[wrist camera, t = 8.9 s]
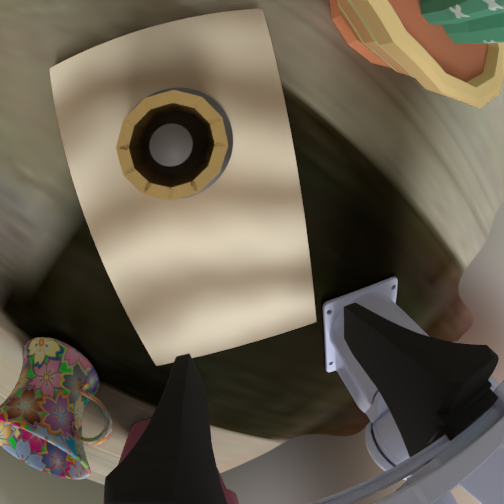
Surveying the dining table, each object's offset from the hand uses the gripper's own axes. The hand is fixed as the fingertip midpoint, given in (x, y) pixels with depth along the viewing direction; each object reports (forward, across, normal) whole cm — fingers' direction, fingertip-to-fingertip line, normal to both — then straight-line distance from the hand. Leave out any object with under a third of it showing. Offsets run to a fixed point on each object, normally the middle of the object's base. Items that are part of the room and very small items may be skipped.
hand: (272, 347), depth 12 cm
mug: (+10, +18, +6) cm, 21 cm away
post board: (+9, +2, -5) cm, 11 cm away
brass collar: (+8, +2, -9) cm, 12 cm away
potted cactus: (+10, -15, -17) cm, 25 cm away
